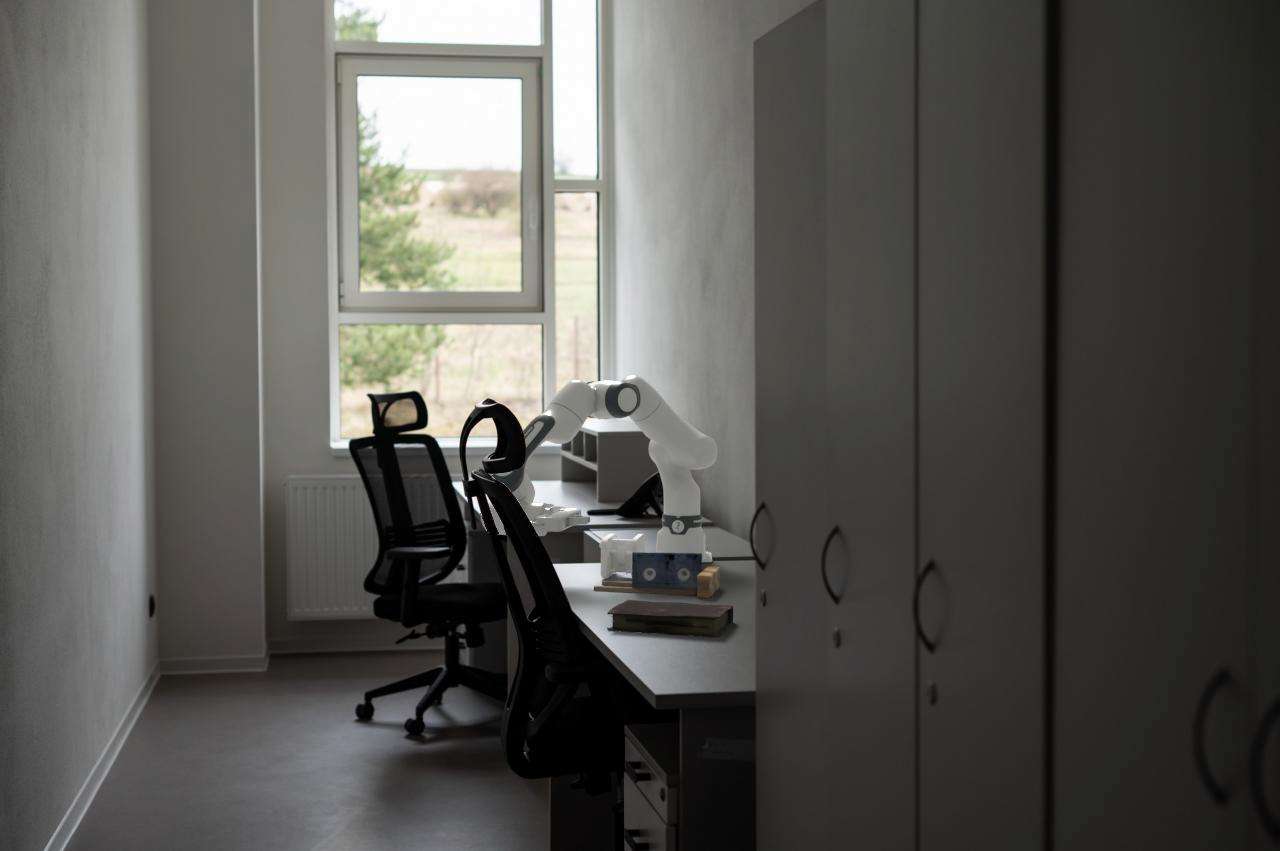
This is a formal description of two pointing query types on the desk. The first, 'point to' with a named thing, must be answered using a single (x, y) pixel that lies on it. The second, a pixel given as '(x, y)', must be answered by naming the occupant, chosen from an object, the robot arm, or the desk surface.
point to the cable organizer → (619, 553)
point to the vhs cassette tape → (666, 570)
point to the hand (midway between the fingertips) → (588, 520)
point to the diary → (671, 618)
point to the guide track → (705, 589)
